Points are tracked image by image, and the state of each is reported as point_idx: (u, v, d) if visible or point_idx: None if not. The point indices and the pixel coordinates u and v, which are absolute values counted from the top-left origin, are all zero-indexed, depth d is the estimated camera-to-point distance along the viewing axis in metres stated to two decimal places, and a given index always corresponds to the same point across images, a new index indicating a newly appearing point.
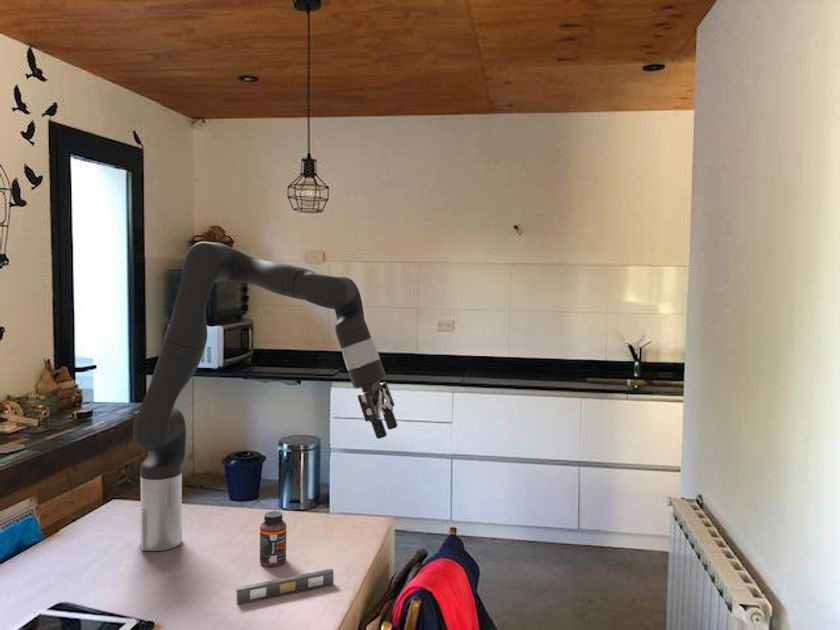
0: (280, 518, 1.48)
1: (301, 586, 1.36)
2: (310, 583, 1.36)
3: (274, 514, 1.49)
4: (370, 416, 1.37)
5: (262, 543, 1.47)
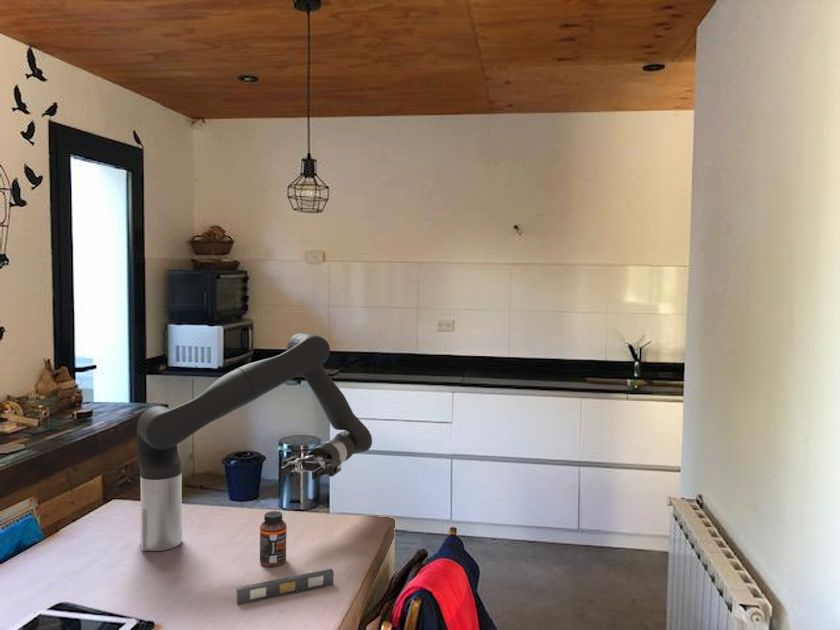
0: (280, 518, 1.48)
1: (301, 586, 1.36)
2: (310, 583, 1.36)
3: (274, 514, 1.49)
4: (333, 471, 1.62)
5: (262, 544, 1.47)
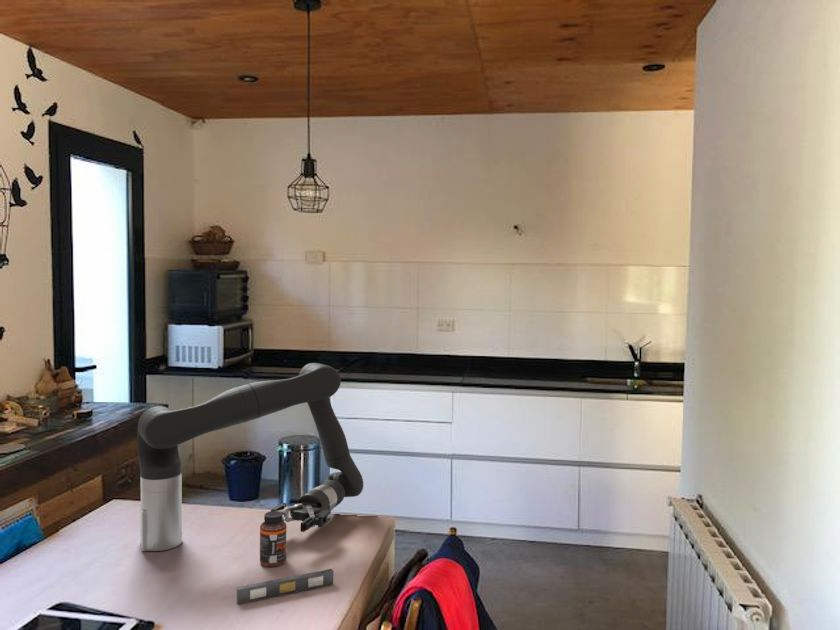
0: (280, 518, 1.48)
1: (301, 586, 1.36)
2: (310, 583, 1.36)
3: (274, 514, 1.49)
4: (322, 521, 1.57)
5: (262, 543, 1.47)
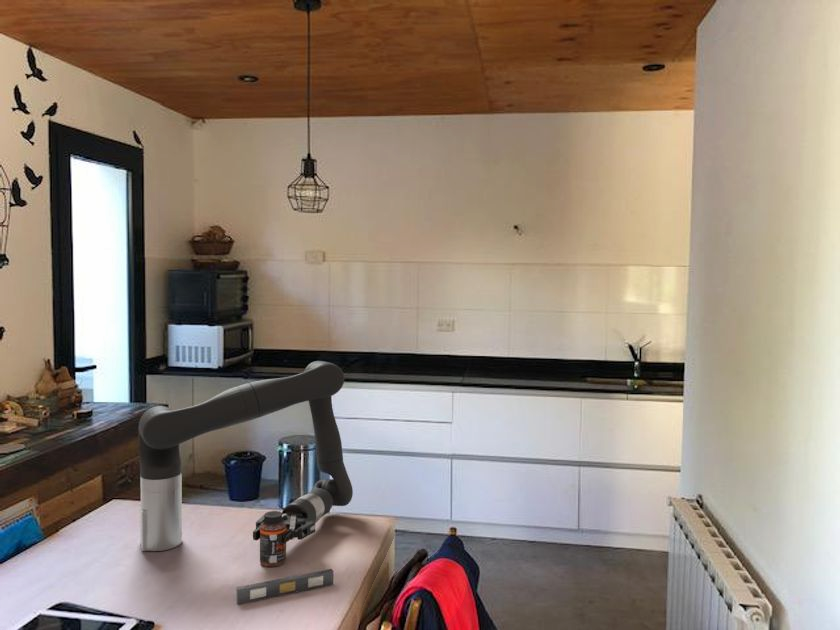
0: (280, 518, 1.48)
1: (301, 586, 1.36)
2: (310, 583, 1.36)
3: (274, 513, 1.49)
4: (302, 533, 1.50)
5: (262, 543, 1.47)
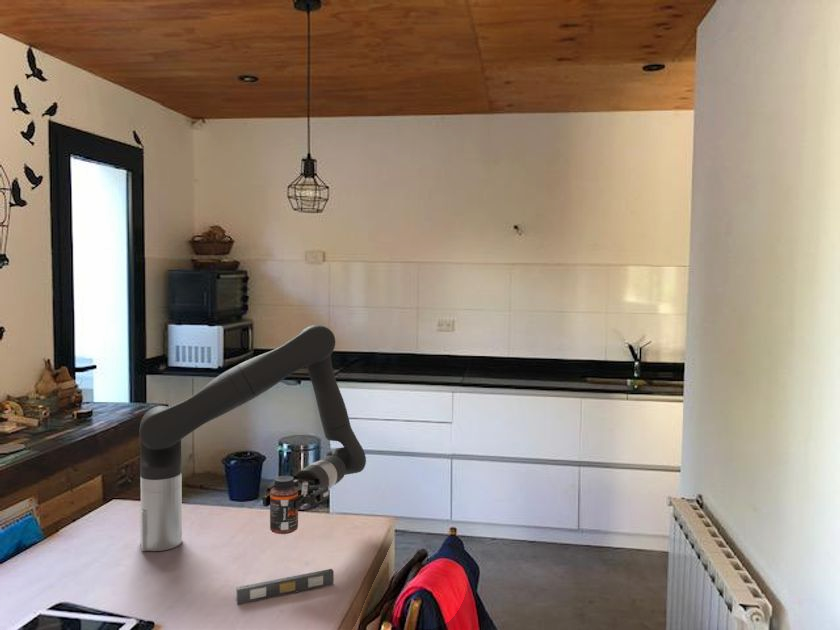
0: (291, 483, 1.39)
1: (301, 586, 1.36)
2: (310, 583, 1.36)
3: (285, 478, 1.40)
4: (315, 499, 1.41)
5: (273, 510, 1.38)
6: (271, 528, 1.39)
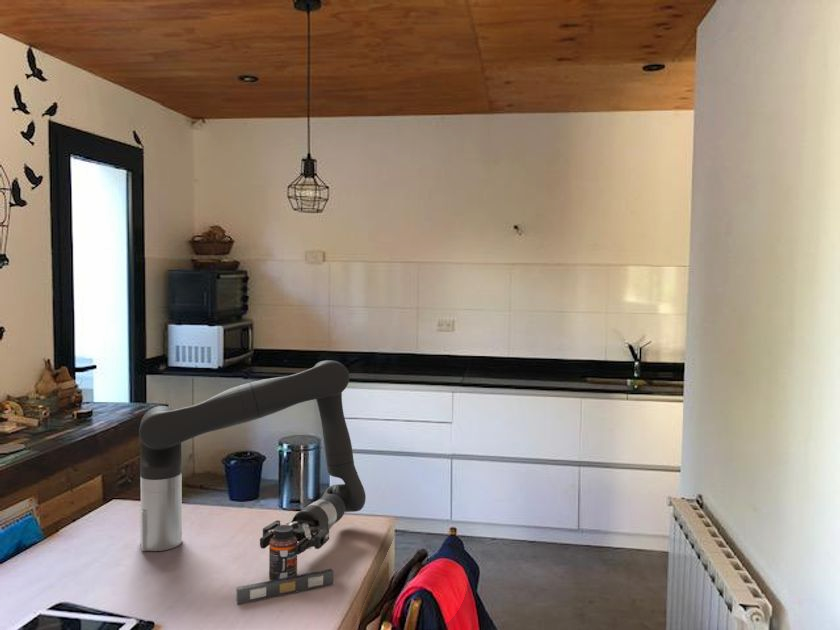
0: (291, 533, 1.40)
1: (301, 586, 1.36)
2: (310, 583, 1.36)
3: (284, 528, 1.40)
4: (319, 542, 1.41)
5: (272, 560, 1.38)
6: (270, 578, 1.39)
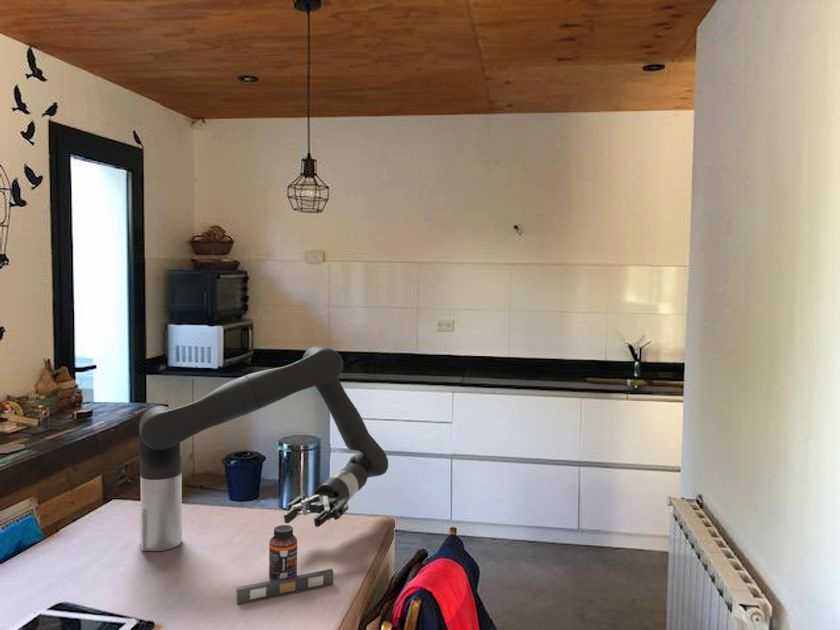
0: (291, 533, 1.40)
1: (301, 586, 1.36)
2: (310, 583, 1.36)
3: (284, 528, 1.40)
4: (338, 513, 1.53)
5: (272, 560, 1.38)
6: (270, 578, 1.39)
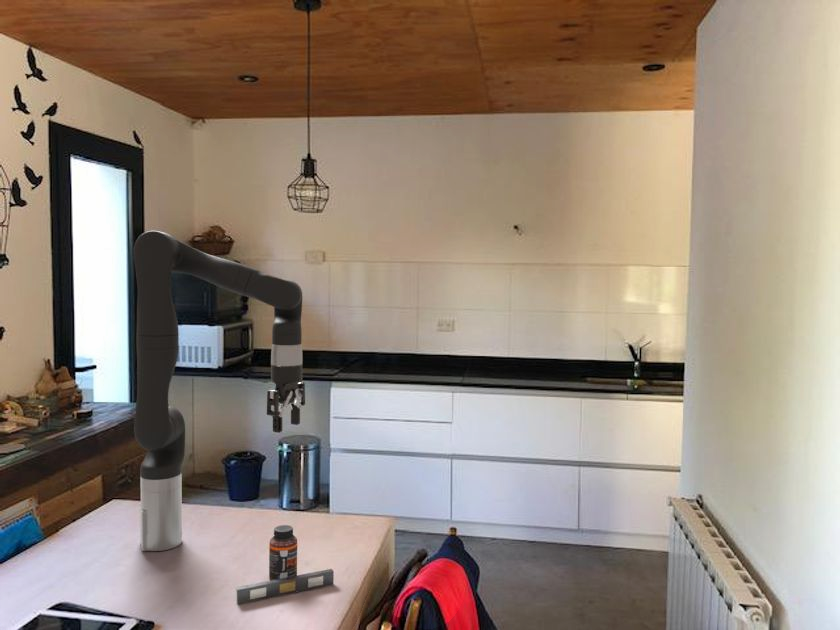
0: (291, 533, 1.40)
1: (301, 586, 1.36)
2: (310, 583, 1.36)
3: (284, 528, 1.40)
4: (271, 412, 1.53)
5: (272, 560, 1.38)
6: (270, 578, 1.39)
